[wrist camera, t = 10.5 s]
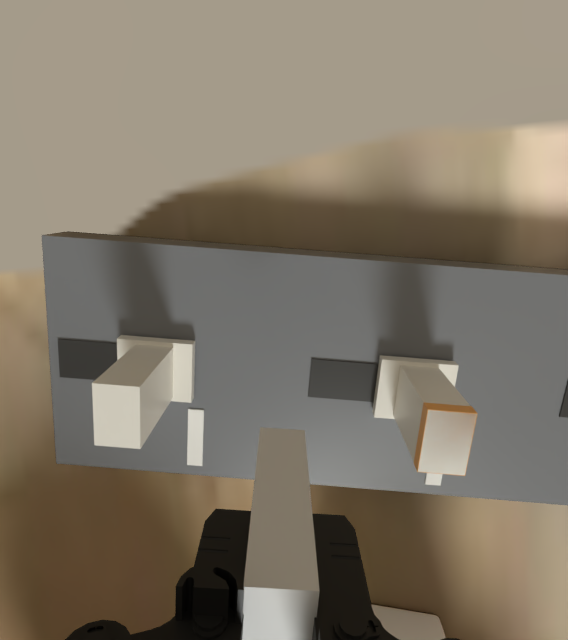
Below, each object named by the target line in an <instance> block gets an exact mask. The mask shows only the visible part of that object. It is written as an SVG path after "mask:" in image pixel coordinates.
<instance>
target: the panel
mask: <svg viewBox="0 0 568 640" xmlns="http://www.w3.org/2000/svg"><path fill="white" fill-rule="evenodd" d="M42 247H43V261H44V278H45V294H46V310H47V325H48V341H49V357H50V372H51V388H52V404H53V419H54V435H55V451H56V463H58V464H70V465H82V466H94V467H106V468H119V469H131V470H143V471H155V472H167V473H180V474H192V475H204V476H216V477H229V478H241V479H253V480H255V471H256V462H257V452H258V443H259V433H260V427H263V428H278V429H294V430H305V439H306V450H307V460H308V471H309V482H310V484H314V485H326V486H338V487H351V488H363V489H375V490H387V491H400V492H412V493H424V494H436V495H448V496H461V497H473V498H485V499H497V500H509V501H522V502H534V503H546V504H558V505H568V270H567V269H554V268H541V267H528V266H515V265H501V264H488V263H475V262H462V261H449V260H436V259H422V258H409V257H396V256H383V255H370V254H357V253H344V252H330V251H317V250H304V249H291V248H278V247H265V246H251V245H238V244H225V243H212V242H199V241H186V240H172V239H159V238H146V237H133V236H120V235H107V234H94V233H93V234H92V233H80V232H61V233H54V234H47V235H42ZM121 335H128V336H141V337H154V338H167V339H179V340H192V341H195V375H194V399H193V400H192V402H191V403H187V402H175V401H171V402H170V403H169V405H168V406H167V408H166V409H165V411H164V413H163V414H162V416H161V417H160V419H159V421H158V422H157V424H156V425H155V427H154V428H153V430H152V432H151V433H150V435H149V436H148V438H147V439H146V441H145V443H144V444H143V446H142V447H141V449H133V448H121V447H109V446H96V445H94V423H93V398H92V383H93V382H94V381H95V380H96V379H97V378H98V377H99V376H101V375H102V374H103V373H104V372H105V371H106V370H107V369H108V368H110V367H111V366H112V365H113V364H114V363H115V362H116V361H117V338H118V337H120V336H121ZM380 355H383V356H396V357H409V358H421V359H434V360H447V361H455V362H456V363H457V364H458V365H459V367H458V372H457V378H456V383H455V388H456V389H457V390H458V392H459V393H460V394H461V395H462V396H463V398H464V399H465V400H466V401H467V402H468V404H469V405H470V406H472V407H473V409H474V410H475V411H476V412H477V413H478V414H477V419H476V424H475V429H474V434H473V439H472V444H471V449H470V454H469V459H468V464H467V469H466V474H465V476H459V475H447V474H435V473H423V472H417V470H416V468H415V466H414V462H413V459H412V457H411V455H410V452H409V450H408V448H407V446H406V443H405V441H404V439H403V436H402V434H401V432H400V430H399V427H398V425H397V423H396V420H395V419H387V418H374V416H373V413H372V410H373V403H374V395H375V388H376V380H377V373H378V365H379V358H380Z"/></svg>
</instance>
